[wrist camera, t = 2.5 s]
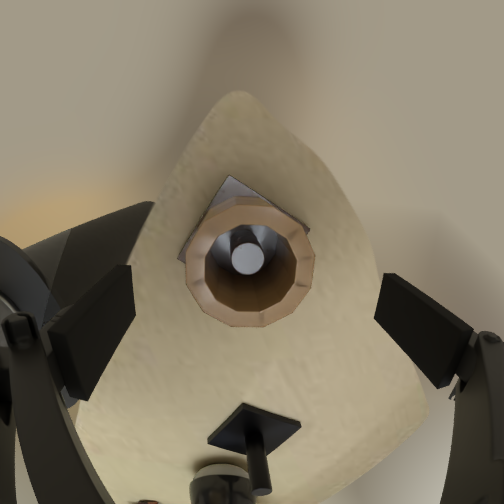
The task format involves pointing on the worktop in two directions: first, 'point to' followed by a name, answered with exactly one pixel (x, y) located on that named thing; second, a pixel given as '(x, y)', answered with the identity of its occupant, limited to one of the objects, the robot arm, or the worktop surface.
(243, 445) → the square base peg
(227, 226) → the maple ring
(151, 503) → the pottery mug
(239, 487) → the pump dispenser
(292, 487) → the worktop surface
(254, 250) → the low peg stand
